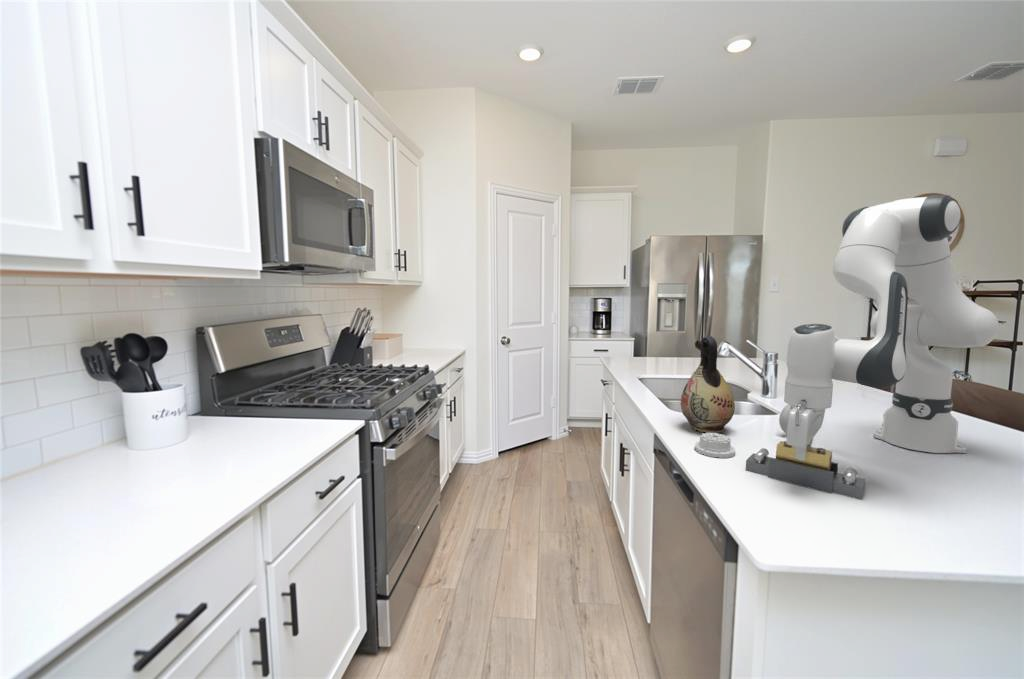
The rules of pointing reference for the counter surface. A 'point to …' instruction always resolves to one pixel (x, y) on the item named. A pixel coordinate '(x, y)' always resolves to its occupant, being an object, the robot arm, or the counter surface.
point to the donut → (784, 418)
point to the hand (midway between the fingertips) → (803, 455)
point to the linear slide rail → (808, 475)
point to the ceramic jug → (707, 393)
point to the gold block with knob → (813, 458)
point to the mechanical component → (715, 445)
